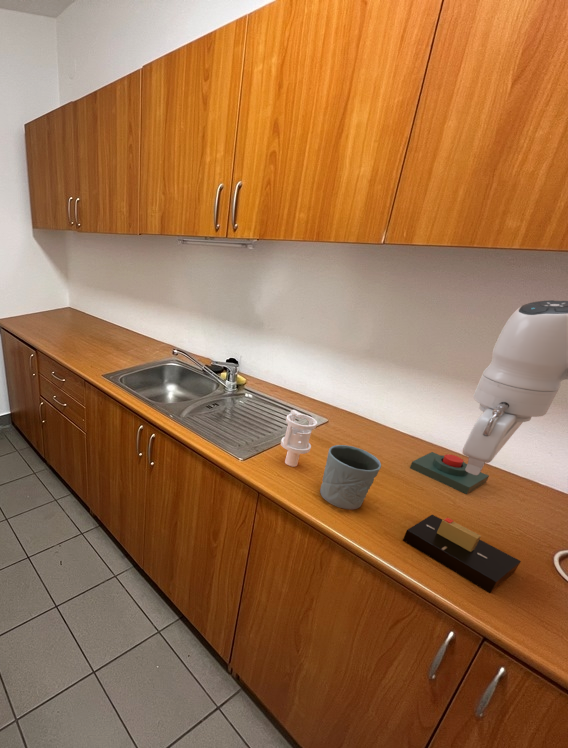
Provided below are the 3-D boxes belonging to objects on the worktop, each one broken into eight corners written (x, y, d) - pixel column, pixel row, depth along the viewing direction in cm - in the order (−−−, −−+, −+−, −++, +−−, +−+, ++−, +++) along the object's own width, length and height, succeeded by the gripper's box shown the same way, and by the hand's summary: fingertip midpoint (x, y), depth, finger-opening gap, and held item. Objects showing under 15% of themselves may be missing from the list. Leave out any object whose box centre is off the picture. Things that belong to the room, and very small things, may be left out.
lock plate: (514, 572, 76) (521, 560, 75) (489, 593, 72) (496, 581, 71) (427, 524, 88) (432, 513, 86) (402, 540, 84) (407, 529, 82)
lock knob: (474, 549, 77) (482, 534, 76) (470, 552, 77) (477, 537, 75) (440, 530, 82) (446, 516, 81) (436, 533, 81) (442, 519, 80)
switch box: (485, 482, 100) (492, 469, 99) (466, 494, 96) (472, 481, 95) (429, 458, 110) (434, 446, 109) (409, 468, 106) (414, 455, 105)
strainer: (292, 454, 113) (303, 408, 107) (311, 468, 107) (324, 420, 101) (271, 457, 112) (281, 411, 106) (289, 472, 105) (301, 423, 100)
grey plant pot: (316, 480, 102) (327, 440, 98) (363, 491, 98) (377, 451, 93) (318, 504, 94) (330, 462, 89) (370, 518, 90) (385, 474, 85)
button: (463, 465, 101) (466, 460, 100) (456, 469, 100) (459, 463, 99) (446, 458, 104) (448, 452, 103) (439, 462, 103) (441, 456, 102)
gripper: (524, 420, 60) (487, 494, 65) (550, 388, 70) (517, 453, 76) (468, 405, 65) (438, 474, 70) (501, 376, 75) (473, 438, 80)
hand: (479, 463), depth 73 cm, fingers open, 8 cm apart
